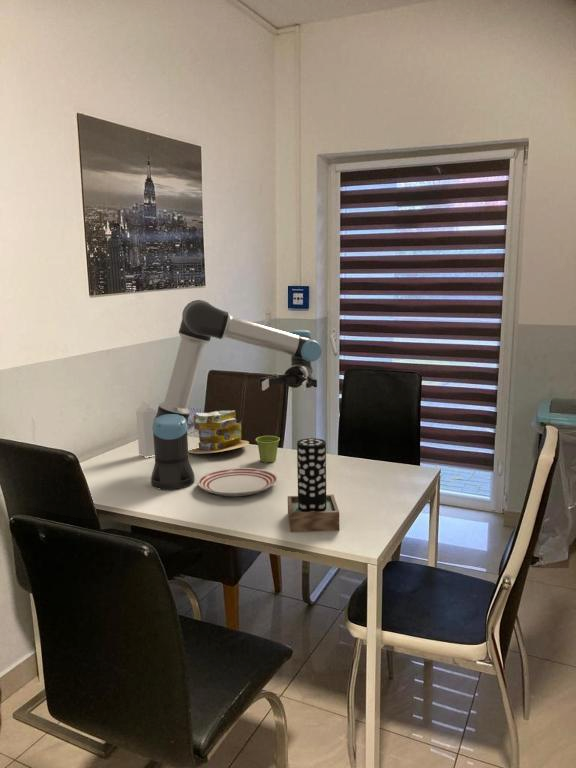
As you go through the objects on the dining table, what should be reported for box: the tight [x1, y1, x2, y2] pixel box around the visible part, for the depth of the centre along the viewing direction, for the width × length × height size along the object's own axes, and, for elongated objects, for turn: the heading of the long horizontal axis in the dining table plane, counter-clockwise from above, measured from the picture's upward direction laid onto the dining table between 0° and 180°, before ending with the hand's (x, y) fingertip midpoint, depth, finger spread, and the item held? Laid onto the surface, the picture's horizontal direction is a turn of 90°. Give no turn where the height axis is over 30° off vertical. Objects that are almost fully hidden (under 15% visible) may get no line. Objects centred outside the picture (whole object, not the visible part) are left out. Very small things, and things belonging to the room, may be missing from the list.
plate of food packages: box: [188, 409, 250, 455], centre depth 258 cm, size 25×25×17 cm
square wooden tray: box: [287, 494, 340, 533], centre depth 185 cm, size 14×14×6 cm
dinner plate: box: [196, 467, 279, 497], centre depth 216 cm, size 27×27×3 cm
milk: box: [135, 401, 158, 457], centre depth 253 cm, size 6×6×22 cm
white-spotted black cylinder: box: [296, 437, 327, 512], centre depth 183 cm, size 8×8×20 cm
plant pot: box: [255, 435, 281, 463], centre depth 244 cm, size 9×9×9 cm
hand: (282, 386), depth 209 cm, fingers open, 13 cm apart
